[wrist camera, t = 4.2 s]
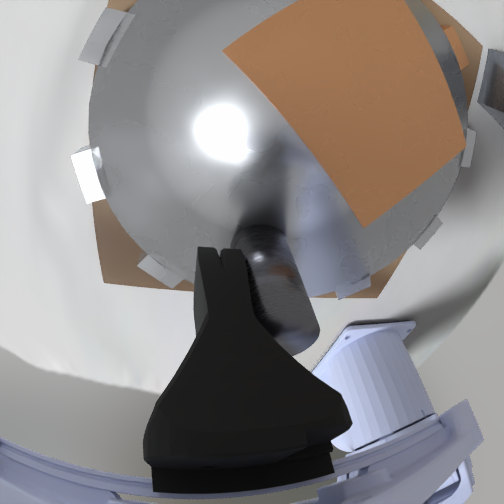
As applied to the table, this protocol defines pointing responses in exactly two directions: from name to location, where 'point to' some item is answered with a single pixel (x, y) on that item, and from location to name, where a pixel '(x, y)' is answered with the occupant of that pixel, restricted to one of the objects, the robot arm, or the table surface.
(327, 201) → the sprocket
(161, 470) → the robot arm
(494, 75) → the gray cube
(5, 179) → the table surface
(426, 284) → the table surface
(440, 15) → the walnut board
